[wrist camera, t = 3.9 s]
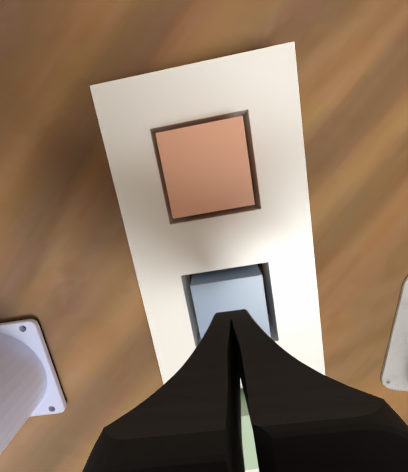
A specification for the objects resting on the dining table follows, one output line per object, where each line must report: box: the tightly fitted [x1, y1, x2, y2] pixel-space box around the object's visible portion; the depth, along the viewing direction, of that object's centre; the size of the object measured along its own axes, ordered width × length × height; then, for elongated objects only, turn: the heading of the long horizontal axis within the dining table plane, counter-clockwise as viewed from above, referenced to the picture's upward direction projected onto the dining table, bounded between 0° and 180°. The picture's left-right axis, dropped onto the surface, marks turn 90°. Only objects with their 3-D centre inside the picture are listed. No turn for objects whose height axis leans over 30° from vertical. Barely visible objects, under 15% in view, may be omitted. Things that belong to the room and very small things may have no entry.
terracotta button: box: [155, 116, 255, 219], centre depth 14 cm, size 4×4×3 cm
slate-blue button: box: [190, 264, 271, 339], centre depth 17 cm, size 4×4×3 cm
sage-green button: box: [241, 388, 259, 470], centre depth 17 cm, size 4×4×3 cm
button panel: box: [90, 42, 325, 472], centre depth 17 cm, size 10×26×3 cm, turn 10°
